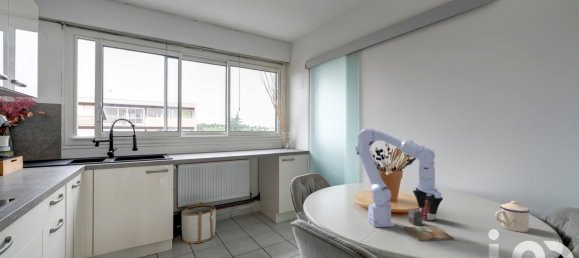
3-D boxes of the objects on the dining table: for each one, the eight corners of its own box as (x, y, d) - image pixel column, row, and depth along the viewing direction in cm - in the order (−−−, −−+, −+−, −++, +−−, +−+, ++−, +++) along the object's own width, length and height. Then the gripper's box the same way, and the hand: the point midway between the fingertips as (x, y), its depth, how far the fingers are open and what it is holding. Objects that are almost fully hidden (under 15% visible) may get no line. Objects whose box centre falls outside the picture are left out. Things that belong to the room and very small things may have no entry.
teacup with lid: (517, 224, 107) (517, 198, 107) (535, 233, 98) (535, 204, 98) (488, 223, 108) (488, 197, 108) (503, 231, 99) (503, 204, 99)
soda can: (438, 221, 110) (437, 196, 110) (422, 220, 111) (421, 195, 111) (432, 216, 117) (432, 192, 117) (417, 215, 118) (417, 191, 118)
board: (419, 240, 92) (419, 238, 92) (403, 228, 103) (403, 226, 103) (453, 239, 92) (453, 237, 92) (435, 227, 103) (434, 225, 103)
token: (413, 225, 106) (413, 212, 106) (408, 221, 110) (408, 209, 110) (422, 225, 107) (422, 211, 107) (417, 221, 111) (416, 208, 111)
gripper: (448, 181, 91) (449, 216, 91) (425, 174, 106) (425, 204, 106) (431, 181, 91) (431, 217, 91) (409, 174, 105) (410, 205, 105)
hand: (427, 210), depth 98 cm, fingers open, 7 cm apart
